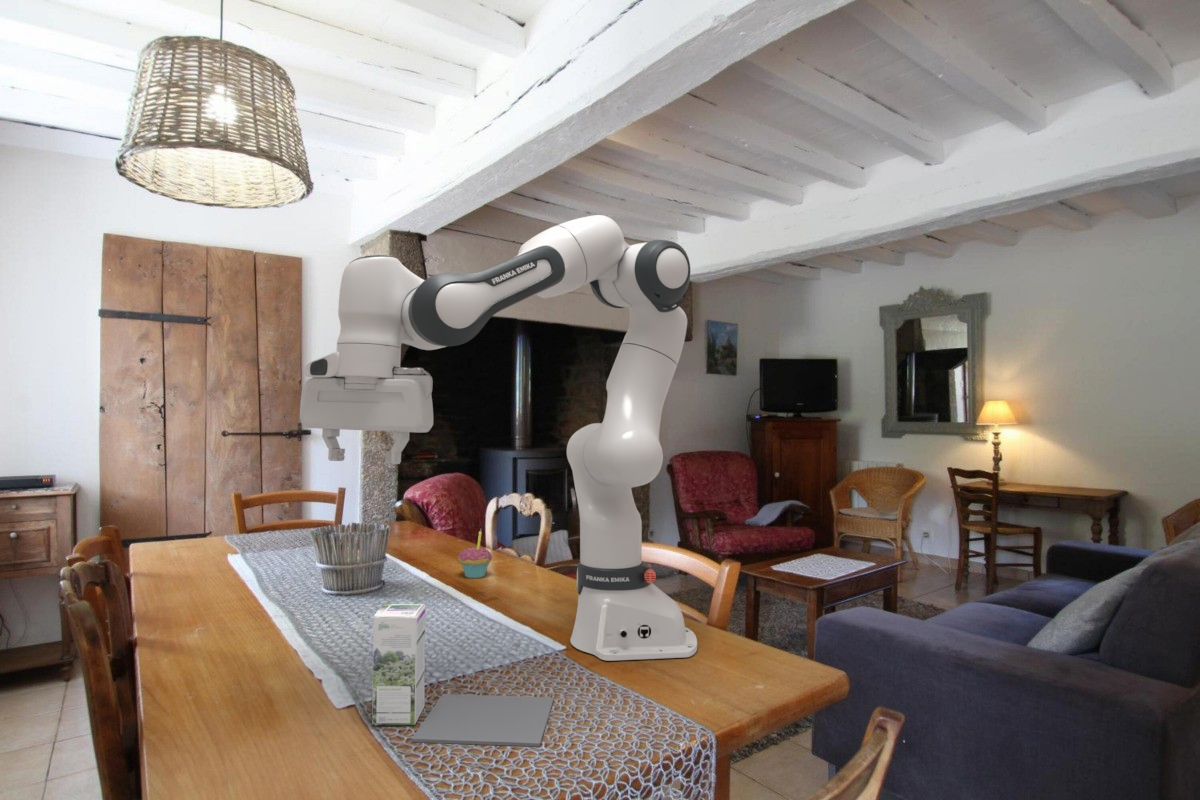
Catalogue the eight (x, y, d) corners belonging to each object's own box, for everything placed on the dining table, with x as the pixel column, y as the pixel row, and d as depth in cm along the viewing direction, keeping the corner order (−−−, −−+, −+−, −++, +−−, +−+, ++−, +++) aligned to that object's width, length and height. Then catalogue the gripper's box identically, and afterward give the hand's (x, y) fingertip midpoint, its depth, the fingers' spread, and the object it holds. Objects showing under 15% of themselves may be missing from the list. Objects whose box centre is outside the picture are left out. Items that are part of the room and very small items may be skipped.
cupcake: (498, 574, 166) (499, 527, 166) (475, 582, 158) (476, 532, 159) (473, 570, 170) (474, 523, 170) (449, 577, 163) (450, 528, 163)
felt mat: (553, 700, 93) (553, 697, 93) (539, 746, 80) (539, 743, 80) (442, 696, 94) (442, 694, 94) (411, 742, 81) (411, 738, 81)
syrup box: (425, 706, 91) (426, 601, 91) (414, 727, 85) (416, 614, 85) (383, 707, 91) (385, 601, 91) (370, 727, 85) (372, 614, 85)
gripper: (443, 369, 96) (439, 464, 95) (324, 368, 101) (319, 458, 101) (420, 365, 89) (416, 467, 89) (294, 364, 95) (290, 460, 94)
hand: (364, 462), depth 95 cm, fingers open, 8 cm apart
